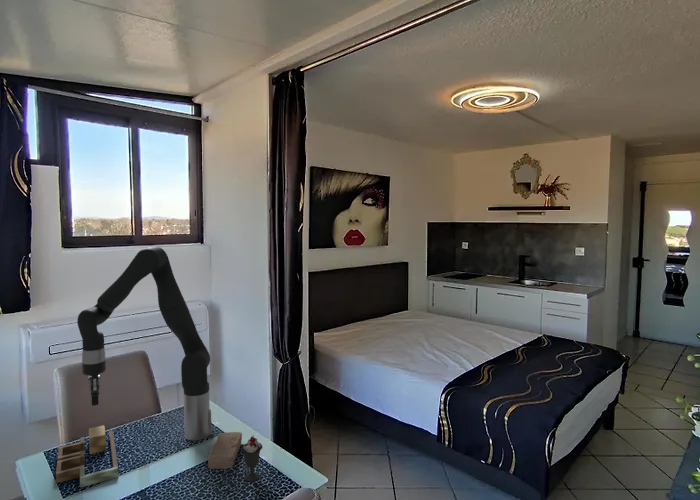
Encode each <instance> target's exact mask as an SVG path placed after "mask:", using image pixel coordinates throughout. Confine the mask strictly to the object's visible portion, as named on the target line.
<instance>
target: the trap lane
mask: <svg viewBox="0 0 700 500" xmlns="http://www.w3.org/2000/svg"><path fill="white" fill-rule="evenodd" d="M108 432H109V435H108V436H109V437H108V438H109V439H108V440H109V445H110V446H109V447H110V454H111V455H110V456H111V463H112V464H111V465H112V467H110V468H105V469H103V470H99V471H96V472H92V473H87V474H85V463H86V462H85V459H86V458H85V452H86V451H85V450H86V449H85V446H86V445H85V436H81V437H80V438H79V440H80V441H79V442H75V443H71V444H67V445H62V446H59V447H58V450H57V462H56V469H55V482H56V484H59V483H63V482H67V481H71V480H75V479H77V478H79V487H80V488H84V487H87V486H91V485H94V484H98V483H103V482H106V481H109V480H113V479H116V478H119V466H118V459H117V452H116V451H117V450H116V443H115V436H114V430H109V431H108Z"/></svg>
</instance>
